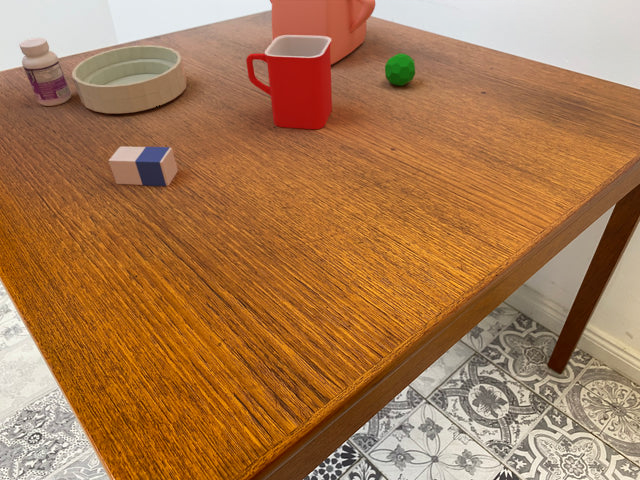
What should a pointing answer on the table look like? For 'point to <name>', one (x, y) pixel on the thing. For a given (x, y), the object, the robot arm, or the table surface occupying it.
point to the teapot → (324, 21)
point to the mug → (297, 80)
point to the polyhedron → (400, 69)
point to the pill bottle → (44, 72)
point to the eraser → (143, 165)
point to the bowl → (130, 79)
